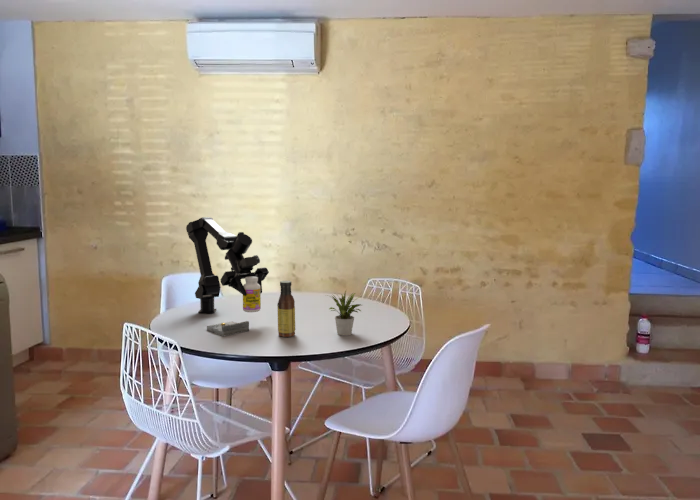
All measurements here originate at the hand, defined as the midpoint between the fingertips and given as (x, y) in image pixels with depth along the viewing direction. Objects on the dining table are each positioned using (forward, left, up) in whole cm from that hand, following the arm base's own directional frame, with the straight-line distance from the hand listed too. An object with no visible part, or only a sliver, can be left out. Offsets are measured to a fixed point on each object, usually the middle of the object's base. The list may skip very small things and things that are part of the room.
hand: (253, 294), depth 204 cm
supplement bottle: (-1, -1, -7) cm, 7 cm away
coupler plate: (+4, -9, -13) cm, 16 cm away
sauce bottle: (+11, +13, -13) cm, 22 cm away
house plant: (+9, +33, -13) cm, 37 cm away
